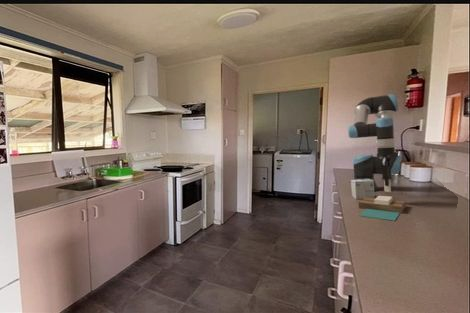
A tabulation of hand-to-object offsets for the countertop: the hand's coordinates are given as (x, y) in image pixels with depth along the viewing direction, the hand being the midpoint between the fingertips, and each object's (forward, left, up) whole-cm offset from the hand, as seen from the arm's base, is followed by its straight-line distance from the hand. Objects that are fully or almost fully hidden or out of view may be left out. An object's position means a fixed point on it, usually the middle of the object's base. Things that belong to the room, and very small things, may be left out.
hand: (387, 191), depth 123 cm
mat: (+21, 0, -6) cm, 22 cm away
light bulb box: (-7, -14, -7) cm, 17 cm away
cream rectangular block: (+10, 0, -3) cm, 10 cm away
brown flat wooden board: (+9, -1, -6) cm, 11 cm away
